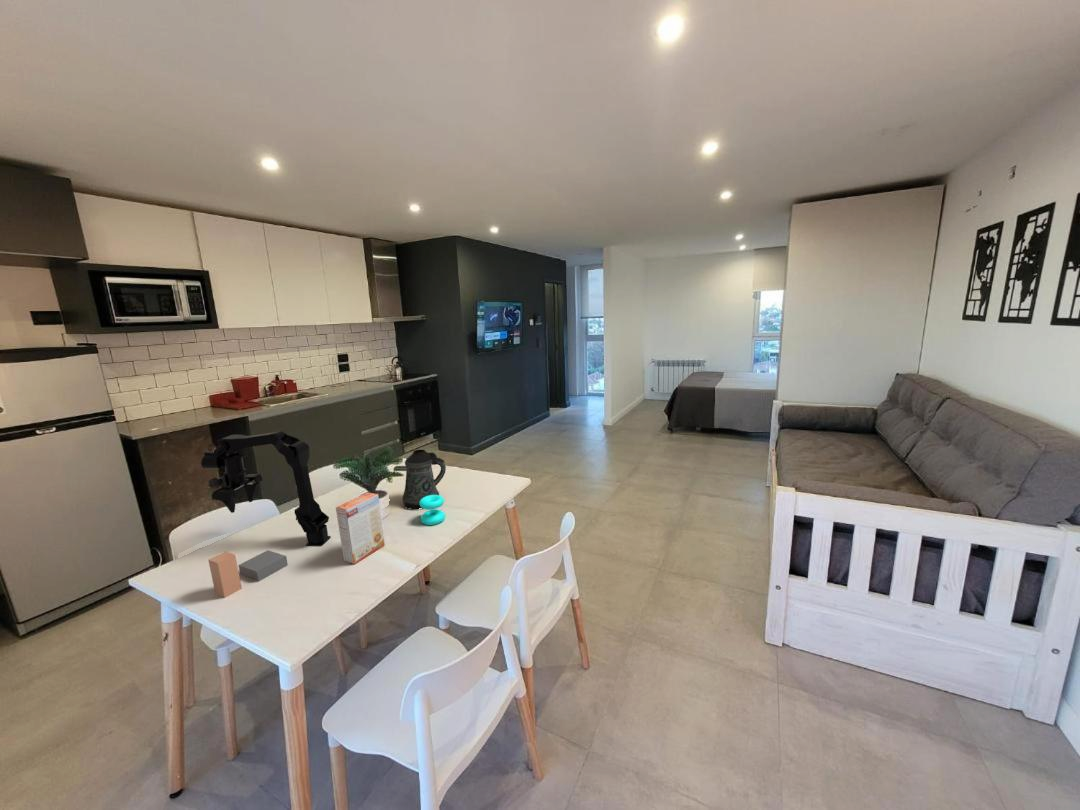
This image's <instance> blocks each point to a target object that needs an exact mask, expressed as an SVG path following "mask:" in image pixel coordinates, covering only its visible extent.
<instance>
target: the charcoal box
mask: <svg viewBox="0 0 1080 810" xmlns="http://www.w3.org/2000/svg"><path fill="white" fill-rule="evenodd" d="M288 565H289V564H288V559H287V555H285V554H281V553H278V552H275V551H272V550H269V549H267V550H265V551H263V552H262V553H259V554H257V555H255V556H254V557H252V558H250V559H248V560H246V561H243V562H242V563H240V564H237V567H238V572H239V576H243V577H245V578H247V579H251V580H253V581H256V582H261V581H263V580H265V578H268V577H269V576H271V575H273V574H275V573H277V572H279V571H280V570H282V569H284V568H285V567H287V566H288Z"/></svg>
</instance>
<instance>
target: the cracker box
mask: <svg viewBox="0 0 1080 810" xmlns="http://www.w3.org/2000/svg"><path fill="white" fill-rule="evenodd" d="M335 512H336V518H337V524H338V532H339V537H340V538H339V539H340V544H341V549H342V556H343V562H347V563H349V564H352V565H356V564H357V563H360V562H361V561H362V560H364V559H366V558H367V557H368V556H370V555H371V554H373V553H375V552H376V551H378V550H379V549H381V548H382V547H384V546H385V545H386V544H385V535H384V529H383V528H384V527H383V522H382V521H383V520H382V515H381V506H380V499H379V494H378V493H373V492H366V493H363V494H362V495H361V494H360V495H359V496H358V497H355V498H353V499H350V500H348V501H346V502H344V503H342V504H340V505H338V506H336V507H335Z"/></svg>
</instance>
